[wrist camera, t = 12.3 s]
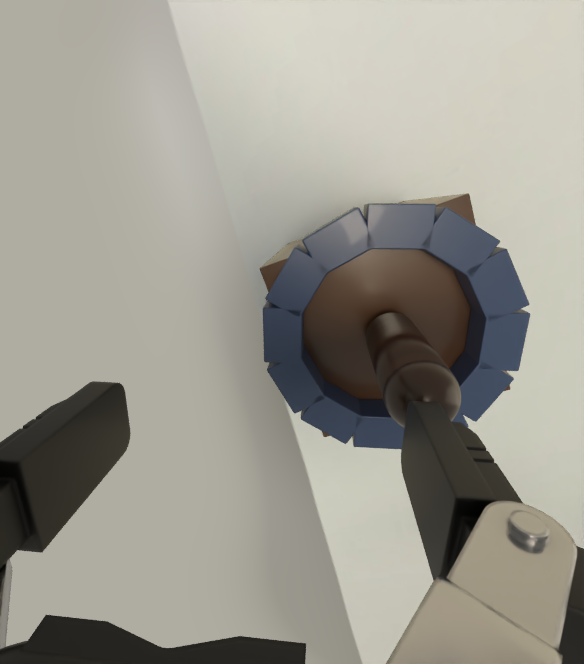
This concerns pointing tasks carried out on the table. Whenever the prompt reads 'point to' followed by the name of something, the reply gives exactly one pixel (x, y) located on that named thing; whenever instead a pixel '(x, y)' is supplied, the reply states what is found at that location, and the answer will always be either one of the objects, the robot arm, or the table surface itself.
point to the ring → (396, 233)
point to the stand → (389, 323)
